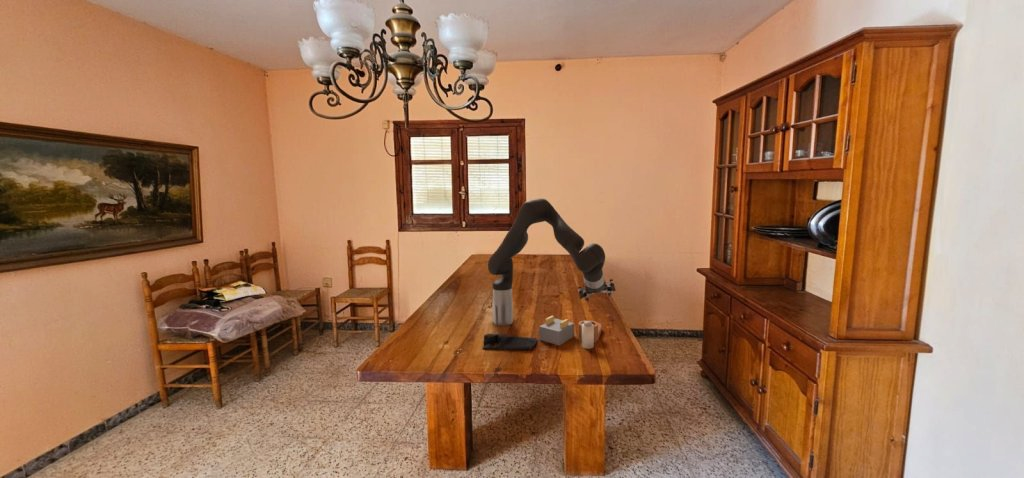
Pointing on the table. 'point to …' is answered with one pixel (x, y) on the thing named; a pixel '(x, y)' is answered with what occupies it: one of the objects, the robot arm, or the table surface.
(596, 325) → the bracket
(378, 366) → the table surface
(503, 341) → the dark slate chunk
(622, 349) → the table surface
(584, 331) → the white bottle
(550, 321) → the block
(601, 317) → the table surface
